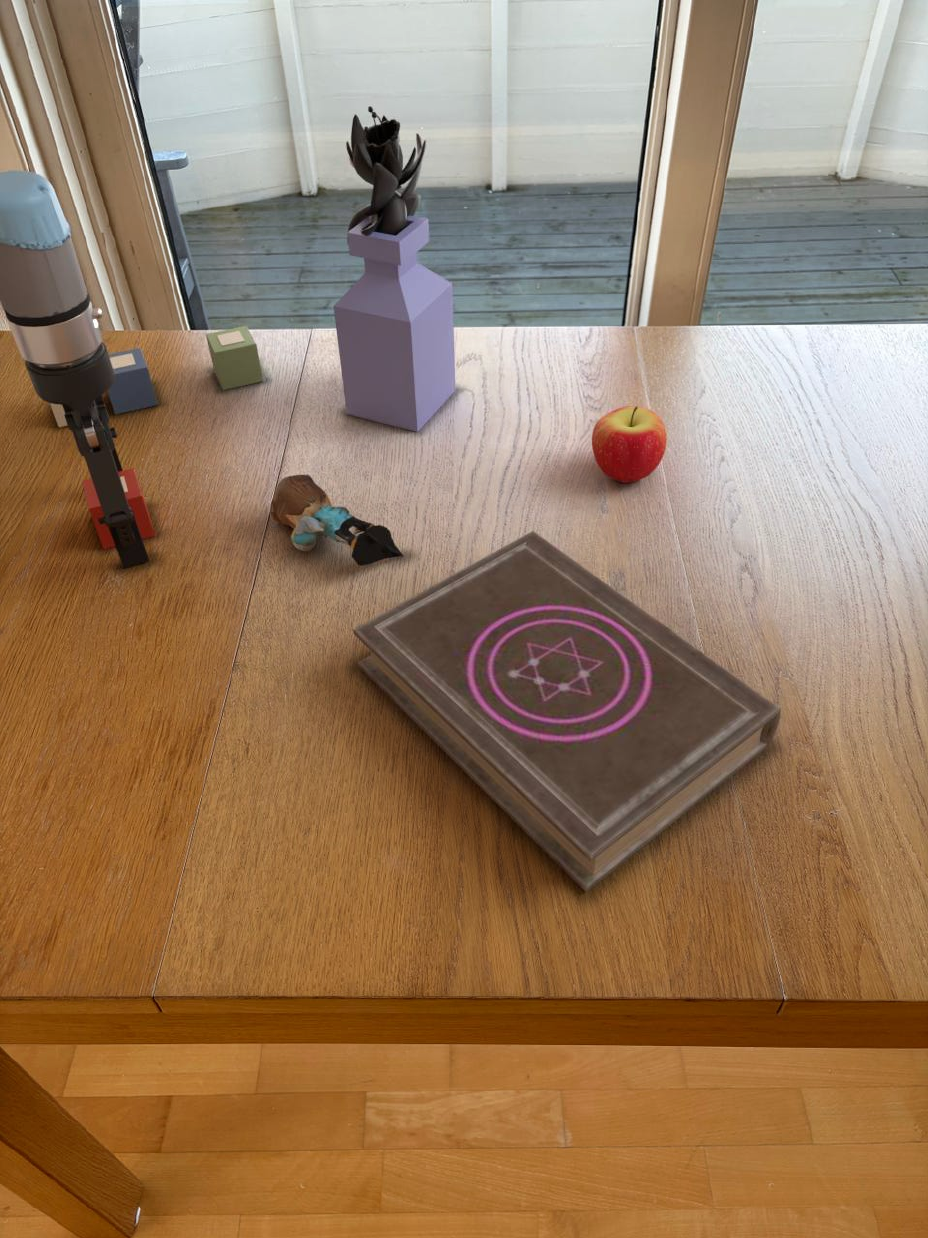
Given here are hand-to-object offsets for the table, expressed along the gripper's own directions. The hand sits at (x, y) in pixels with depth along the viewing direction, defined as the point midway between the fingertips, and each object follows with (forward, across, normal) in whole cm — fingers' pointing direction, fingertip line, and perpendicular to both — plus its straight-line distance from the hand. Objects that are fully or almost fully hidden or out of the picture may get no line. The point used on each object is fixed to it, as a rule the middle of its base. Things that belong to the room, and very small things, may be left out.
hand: (126, 526), depth 105 cm
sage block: (0, +27, -19) cm, 33 cm away
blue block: (0, +27, -5) cm, 27 cm away
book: (+1, -42, -32) cm, 53 cm away
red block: (0, 0, 0) cm, 0 cm away
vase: (0, +12, -37) cm, 39 cm away
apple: (+1, -14, -55) cm, 57 cm away
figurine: (0, -12, -20) cm, 23 cm away
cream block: (0, +27, +2) cm, 27 cm away
